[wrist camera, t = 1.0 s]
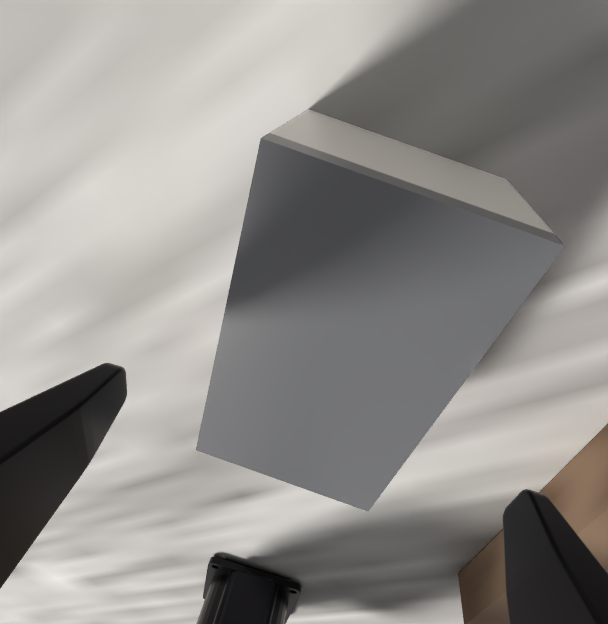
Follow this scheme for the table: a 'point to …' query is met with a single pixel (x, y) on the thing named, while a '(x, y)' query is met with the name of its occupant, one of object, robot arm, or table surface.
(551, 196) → the table surface
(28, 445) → the robot arm
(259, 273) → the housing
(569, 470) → the walnut stand
